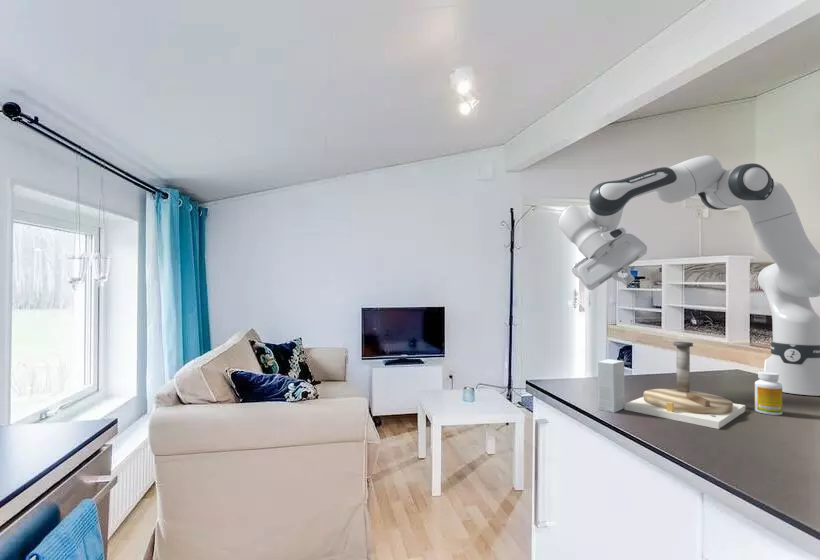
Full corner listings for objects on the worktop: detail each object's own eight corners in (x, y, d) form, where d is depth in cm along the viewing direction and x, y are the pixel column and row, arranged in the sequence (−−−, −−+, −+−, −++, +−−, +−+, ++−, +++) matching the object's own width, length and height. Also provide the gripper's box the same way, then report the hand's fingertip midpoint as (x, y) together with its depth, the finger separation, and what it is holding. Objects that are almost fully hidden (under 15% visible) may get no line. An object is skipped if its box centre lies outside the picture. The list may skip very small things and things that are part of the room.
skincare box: (607, 405, 118) (608, 358, 118) (624, 408, 115) (625, 360, 115) (597, 409, 114) (597, 361, 114) (614, 413, 110) (614, 363, 111)
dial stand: (658, 396, 128) (658, 383, 128) (745, 411, 113) (745, 397, 113) (624, 409, 114) (624, 395, 114) (718, 428, 99) (718, 412, 99)
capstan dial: (660, 391, 128) (660, 339, 128) (742, 404, 113) (742, 346, 114) (630, 402, 115) (631, 345, 115) (719, 418, 101) (719, 353, 101)
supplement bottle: (787, 416, 109) (787, 375, 109) (762, 414, 110) (762, 374, 110) (774, 410, 115) (774, 371, 115) (750, 409, 116) (750, 370, 116)
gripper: (568, 264, 136) (599, 299, 130) (627, 223, 134) (661, 257, 128) (569, 272, 142) (599, 306, 135) (626, 233, 140) (659, 266, 133)
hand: (630, 282), depth 131 cm, fingers closed
